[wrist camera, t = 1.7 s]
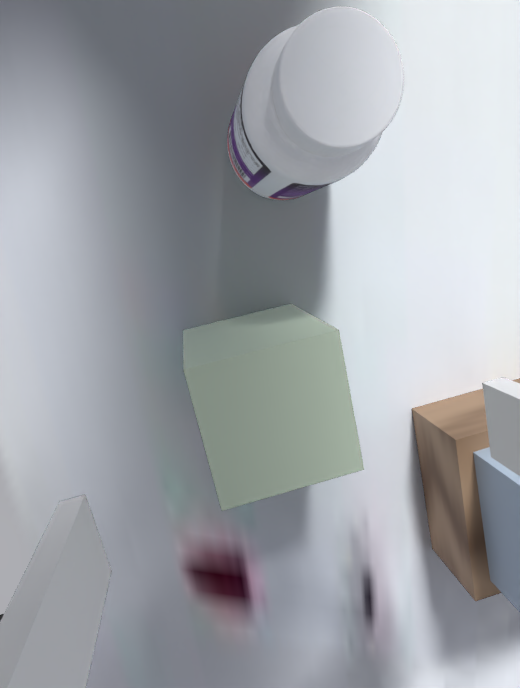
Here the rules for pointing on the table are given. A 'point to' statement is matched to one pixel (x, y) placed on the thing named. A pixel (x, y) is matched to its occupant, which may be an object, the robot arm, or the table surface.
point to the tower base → (455, 485)
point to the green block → (271, 403)
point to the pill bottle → (315, 103)
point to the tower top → (500, 522)
